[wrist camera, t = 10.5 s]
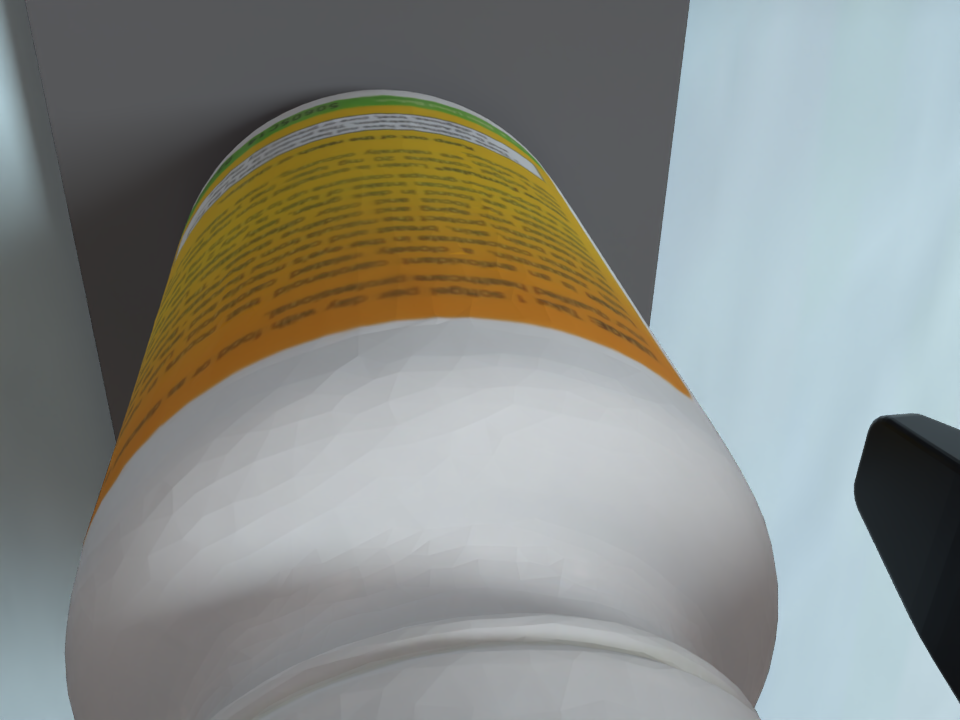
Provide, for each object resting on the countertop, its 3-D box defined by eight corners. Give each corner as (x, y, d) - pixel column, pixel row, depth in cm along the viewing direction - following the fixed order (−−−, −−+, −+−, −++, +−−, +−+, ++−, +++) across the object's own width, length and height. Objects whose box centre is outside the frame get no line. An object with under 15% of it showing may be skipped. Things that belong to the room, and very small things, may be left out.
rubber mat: (619, 460, 16) (630, 480, 15) (138, 497, 15) (132, 521, 14) (678, -41, 12) (694, -36, 12) (31, -45, 11) (16, -40, 10)
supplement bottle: (92, 225, 12) (-432, 1167, 4) (447, -6, 11) (838, 504, 3) (332, 491, 15) (352, 1379, 6) (631, 320, 14) (1103, 1068, 6)
